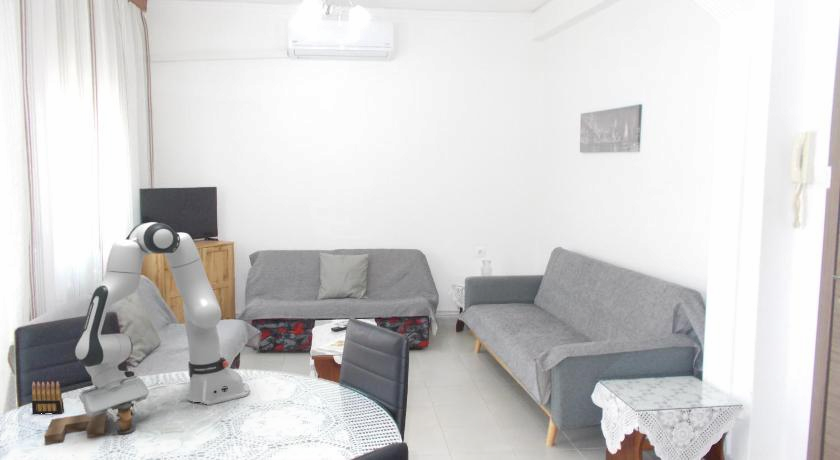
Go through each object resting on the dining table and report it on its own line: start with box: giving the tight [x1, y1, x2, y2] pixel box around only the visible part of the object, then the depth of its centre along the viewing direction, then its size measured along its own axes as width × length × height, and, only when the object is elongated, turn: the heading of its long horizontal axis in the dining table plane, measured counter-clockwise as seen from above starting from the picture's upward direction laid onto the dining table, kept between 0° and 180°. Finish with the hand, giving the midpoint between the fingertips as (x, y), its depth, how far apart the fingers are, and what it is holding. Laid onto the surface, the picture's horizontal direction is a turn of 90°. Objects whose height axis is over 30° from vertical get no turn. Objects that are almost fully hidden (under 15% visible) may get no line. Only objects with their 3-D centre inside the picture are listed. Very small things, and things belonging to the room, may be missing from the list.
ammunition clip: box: [31, 380, 65, 415], centre depth 225 cm, size 11×2×12 cm, turn 88°
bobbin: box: [116, 403, 136, 436], centre depth 208 cm, size 5×5×9 cm
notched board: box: [44, 413, 109, 446], centre depth 210 cm, size 17×14×3 cm
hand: (125, 417), depth 208 cm, fingers open, 4 cm apart
